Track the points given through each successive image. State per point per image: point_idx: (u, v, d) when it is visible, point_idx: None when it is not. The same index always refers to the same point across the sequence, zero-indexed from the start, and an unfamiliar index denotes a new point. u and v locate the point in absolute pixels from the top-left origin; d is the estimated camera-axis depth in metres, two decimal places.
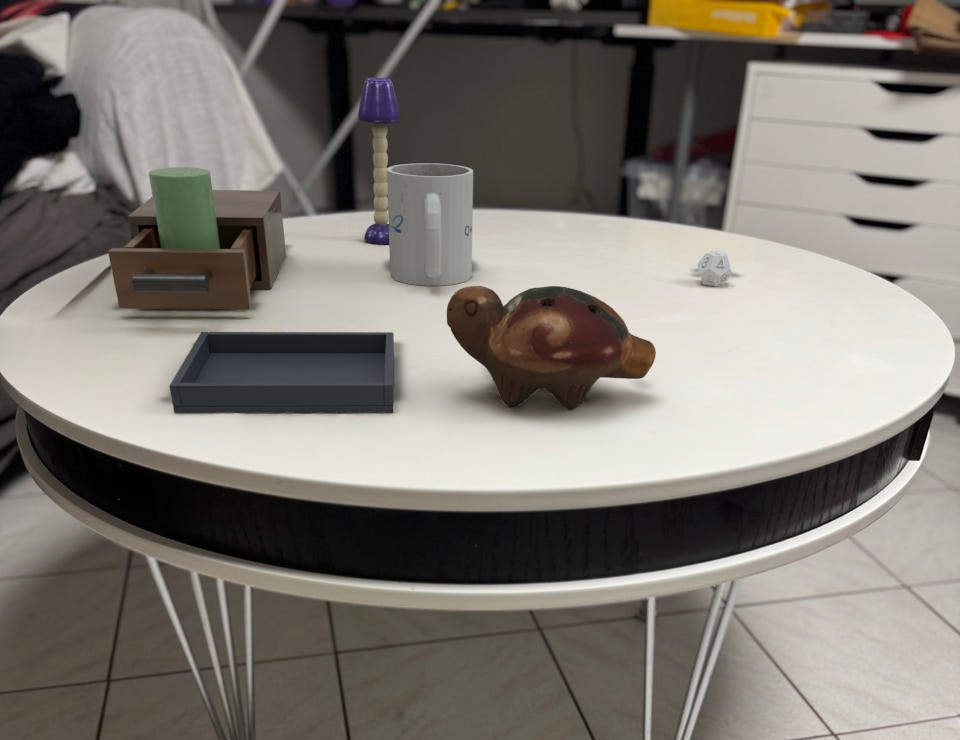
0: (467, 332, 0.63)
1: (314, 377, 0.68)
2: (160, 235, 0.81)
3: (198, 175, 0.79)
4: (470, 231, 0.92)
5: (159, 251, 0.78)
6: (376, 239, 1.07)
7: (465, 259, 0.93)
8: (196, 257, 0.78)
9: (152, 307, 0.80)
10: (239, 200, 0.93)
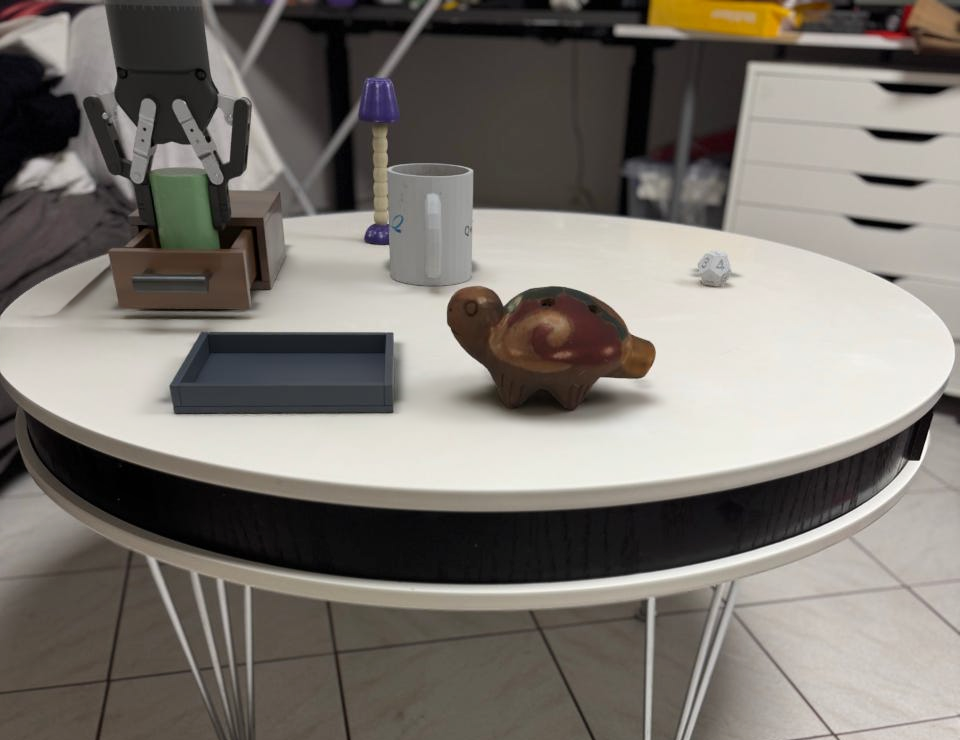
0: (467, 333, 0.63)
1: (314, 377, 0.68)
2: (160, 235, 0.81)
3: (198, 175, 0.79)
4: (470, 231, 0.92)
5: (159, 251, 0.78)
6: (376, 239, 1.07)
7: (465, 259, 0.93)
8: (196, 257, 0.78)
9: (152, 307, 0.80)
10: (239, 200, 0.93)
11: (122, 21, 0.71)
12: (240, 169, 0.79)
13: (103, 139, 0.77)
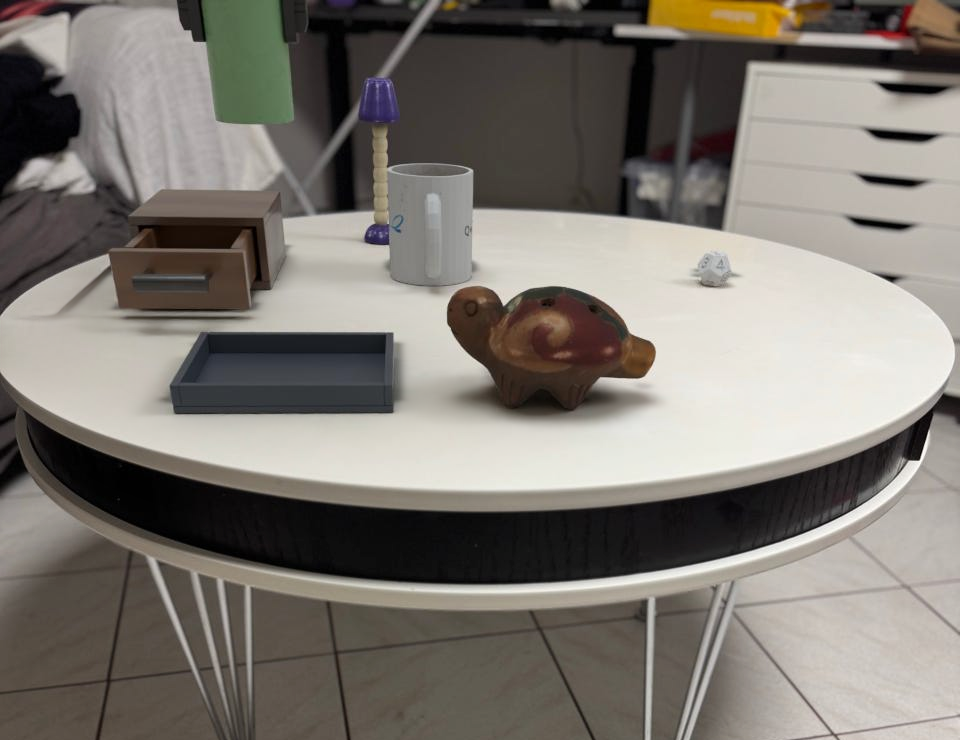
0: (467, 332, 0.63)
1: (314, 377, 0.68)
2: (209, 49, 0.57)
3: None
4: (470, 231, 0.92)
5: (159, 251, 0.78)
6: (376, 239, 1.07)
7: (465, 259, 0.93)
8: (196, 257, 0.78)
9: (152, 307, 0.80)
10: (239, 200, 0.93)
11: None
12: None
13: None
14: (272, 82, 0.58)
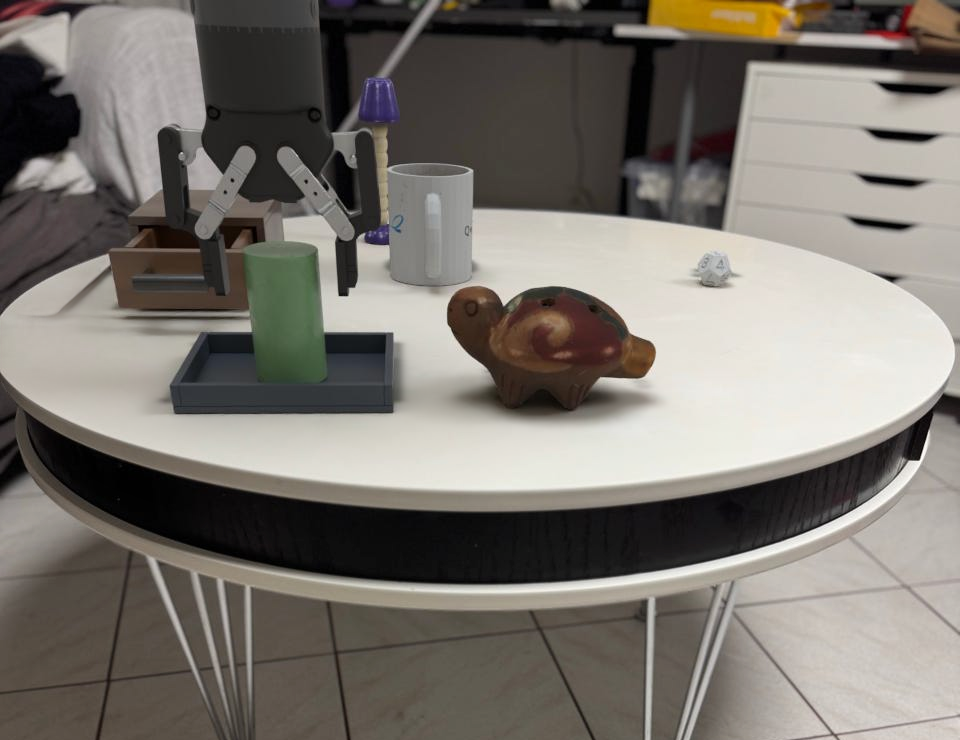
0: (467, 333, 0.63)
1: None
2: (253, 327, 0.65)
3: (306, 255, 0.62)
4: (470, 231, 0.92)
5: (159, 251, 0.78)
6: (376, 239, 1.07)
7: (465, 259, 0.93)
8: (196, 257, 0.78)
9: (152, 307, 0.80)
10: (239, 200, 0.93)
11: (220, 47, 0.54)
12: (377, 222, 0.61)
13: (171, 183, 0.59)
14: (309, 354, 0.65)
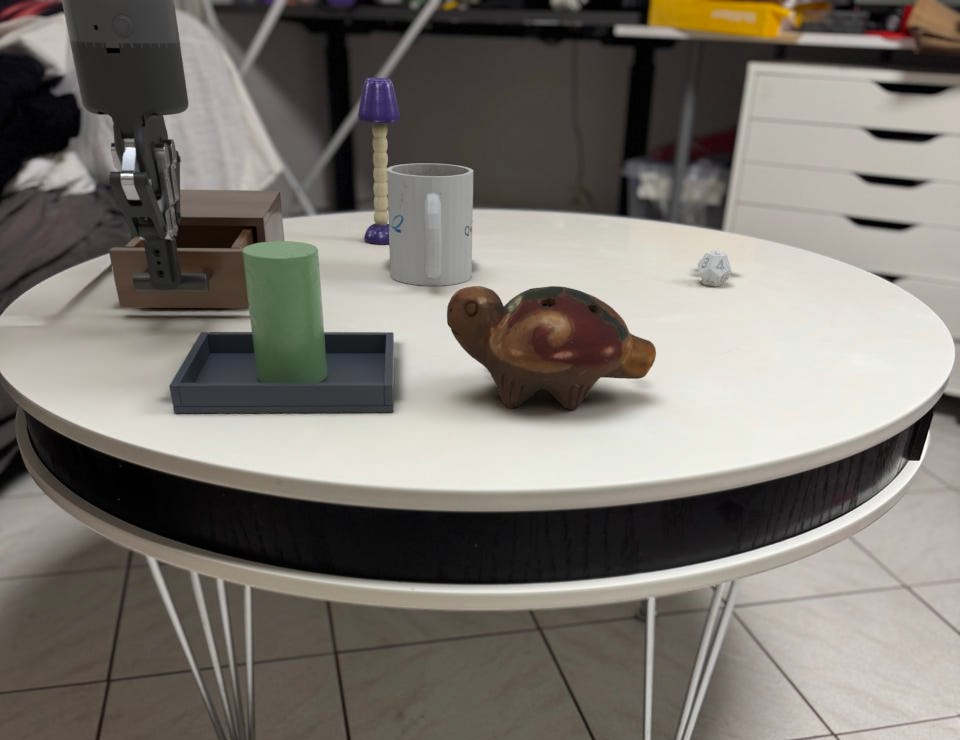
0: (467, 333, 0.63)
1: None
2: (253, 327, 0.65)
3: (306, 255, 0.62)
4: (470, 231, 0.92)
5: None
6: (376, 239, 1.07)
7: (465, 259, 0.93)
8: (197, 256, 0.78)
9: (153, 306, 0.81)
10: (239, 200, 0.93)
11: (166, 61, 0.64)
12: None
13: (156, 207, 0.68)
14: (309, 354, 0.65)
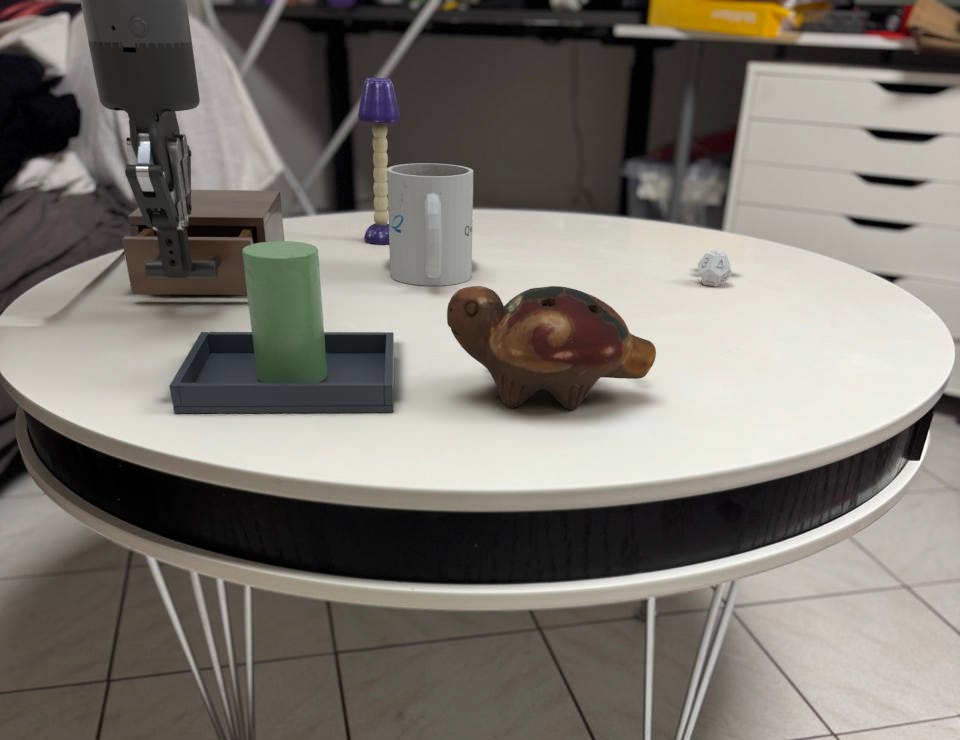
0: (467, 333, 0.63)
1: None
2: (253, 327, 0.65)
3: (306, 255, 0.62)
4: (470, 231, 0.92)
5: None
6: (376, 239, 1.07)
7: (465, 259, 0.93)
8: (206, 245, 0.82)
9: (163, 293, 0.84)
10: (239, 200, 0.93)
11: (179, 60, 0.68)
12: None
13: (169, 199, 0.71)
14: (309, 354, 0.65)
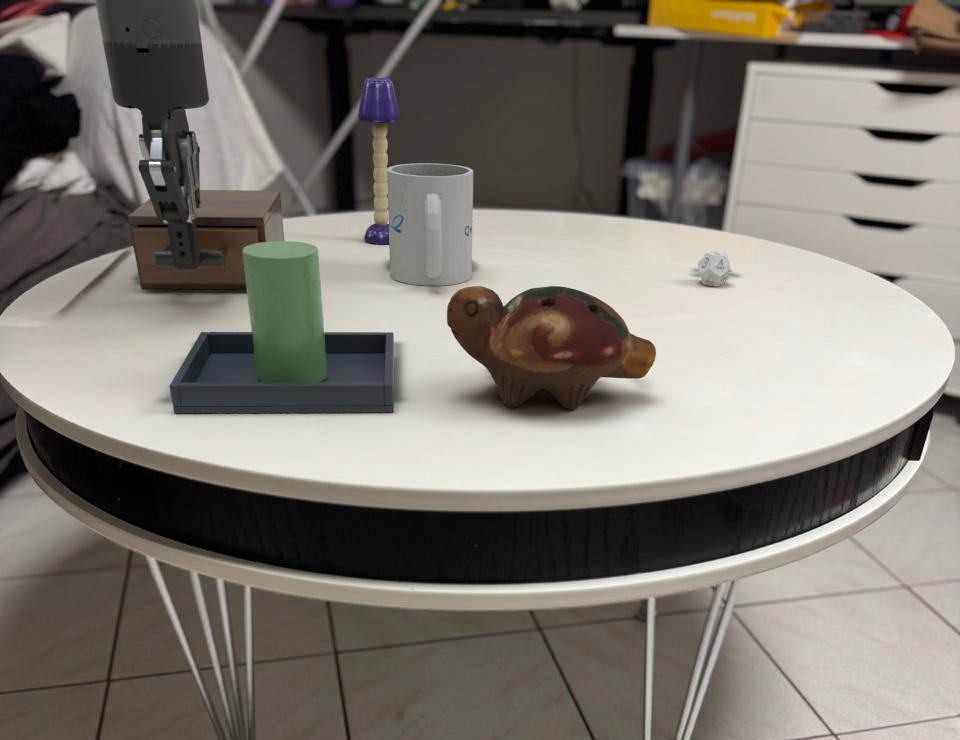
0: (467, 333, 0.63)
1: None
2: (253, 327, 0.65)
3: (306, 255, 0.62)
4: (470, 231, 0.92)
5: None
6: (376, 239, 1.07)
7: (465, 259, 0.93)
8: (213, 235, 0.85)
9: (172, 282, 0.87)
10: (239, 200, 0.93)
11: (189, 60, 0.71)
12: None
13: (180, 193, 0.75)
14: (309, 354, 0.65)
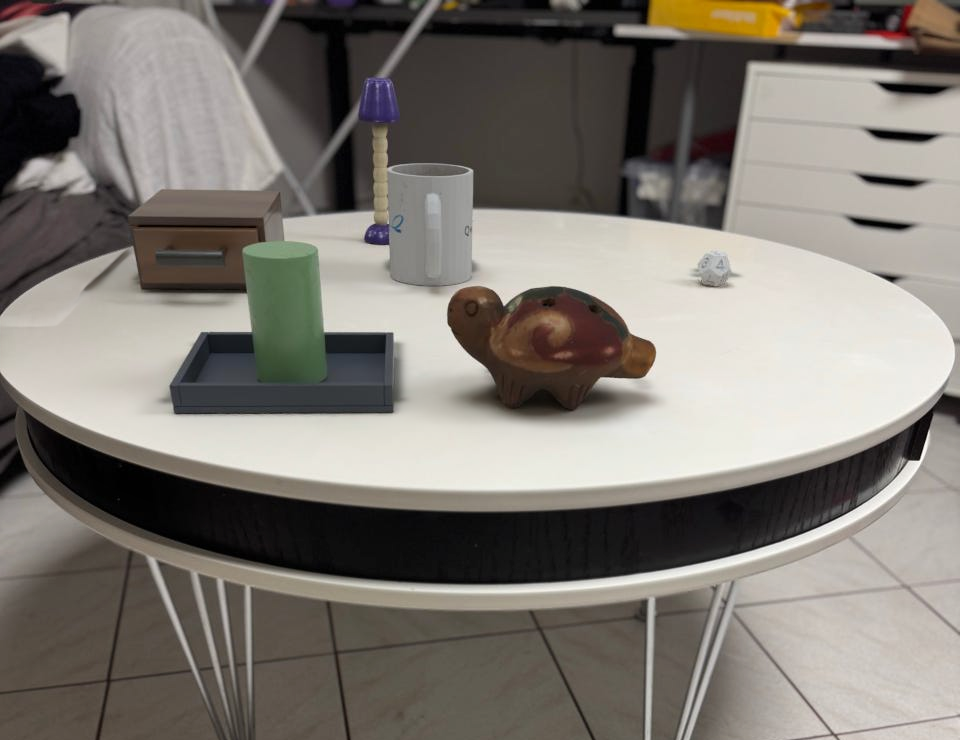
0: (467, 333, 0.63)
1: None
2: (253, 327, 0.65)
3: (306, 255, 0.62)
4: (470, 231, 0.92)
5: (179, 230, 0.85)
6: (376, 239, 1.07)
7: (465, 259, 0.93)
8: (213, 235, 0.85)
9: (172, 282, 0.88)
10: (239, 200, 0.93)
11: None
12: None
13: None
14: (309, 354, 0.65)
